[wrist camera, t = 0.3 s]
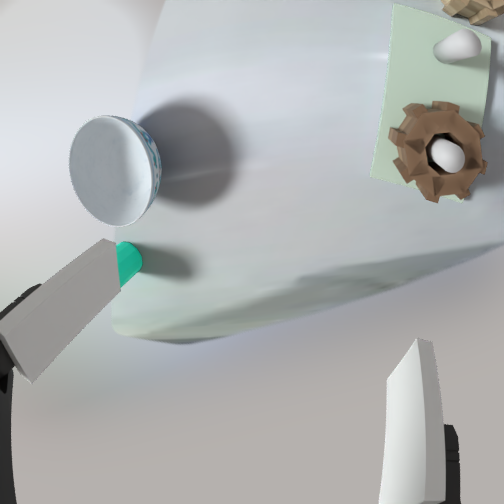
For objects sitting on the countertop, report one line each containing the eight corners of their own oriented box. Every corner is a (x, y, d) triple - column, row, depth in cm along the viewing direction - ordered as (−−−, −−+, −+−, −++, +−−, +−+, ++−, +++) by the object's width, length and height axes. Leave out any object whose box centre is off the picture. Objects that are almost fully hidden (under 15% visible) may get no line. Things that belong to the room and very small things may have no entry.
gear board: (392, 6, 23) (405, -22, 15) (486, 39, 20) (523, 27, 12) (369, 173, 33) (376, 199, 25) (458, 199, 31) (486, 231, 23)
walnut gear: (380, 106, 28) (388, 108, 23) (460, 98, 24) (480, 100, 19) (397, 190, 32) (405, 209, 27) (471, 181, 28) (490, 198, 23)
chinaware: (96, 180, 46) (63, 196, 39) (117, 95, 37) (79, 101, 31) (165, 223, 45) (136, 247, 39) (199, 134, 37) (167, 144, 31)
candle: (144, 250, 49) (99, 290, 39) (141, 276, 52) (100, 317, 42) (117, 236, 50) (70, 271, 40) (115, 262, 53) (73, 298, 43)
